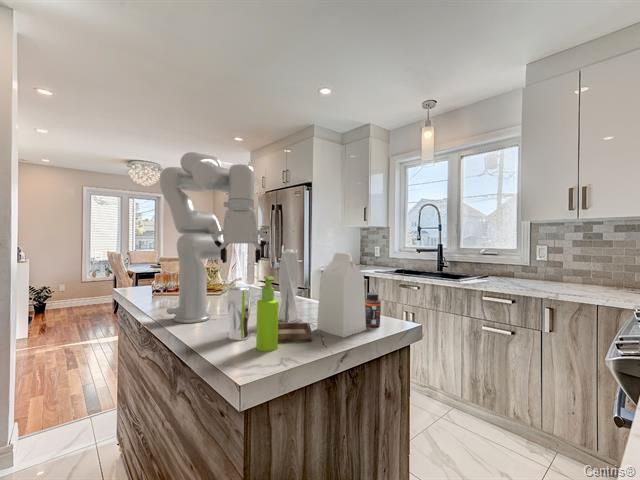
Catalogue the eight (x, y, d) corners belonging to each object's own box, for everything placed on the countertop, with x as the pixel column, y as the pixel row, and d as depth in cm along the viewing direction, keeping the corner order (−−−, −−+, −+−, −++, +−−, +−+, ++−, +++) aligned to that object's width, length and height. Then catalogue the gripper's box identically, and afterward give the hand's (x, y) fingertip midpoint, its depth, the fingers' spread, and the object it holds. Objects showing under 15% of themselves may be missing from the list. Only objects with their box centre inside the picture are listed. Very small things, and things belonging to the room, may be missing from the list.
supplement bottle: (378, 328, 110) (379, 295, 110) (361, 326, 112) (362, 294, 112) (381, 324, 116) (382, 293, 116) (365, 322, 118) (365, 291, 118)
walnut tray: (271, 342, 93) (271, 333, 93) (272, 330, 105) (272, 322, 105) (311, 341, 95) (312, 333, 95) (308, 330, 107) (309, 322, 107)
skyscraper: (271, 320, 117) (273, 245, 117) (287, 317, 124) (289, 244, 123) (287, 325, 112) (288, 245, 112) (303, 321, 118) (304, 245, 118)
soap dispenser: (259, 354, 84) (261, 278, 84) (254, 345, 90) (255, 275, 90) (281, 351, 86) (282, 277, 86) (274, 343, 93) (275, 274, 92)
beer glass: (244, 342, 93) (245, 290, 93) (222, 340, 94) (223, 289, 94) (254, 335, 100) (254, 287, 100) (233, 333, 101) (234, 286, 101)
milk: (365, 330, 108) (367, 253, 107) (343, 337, 99) (344, 254, 99) (339, 323, 116) (340, 252, 116) (316, 329, 108) (318, 252, 108)
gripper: (209, 204, 92) (208, 263, 92) (269, 205, 94) (268, 263, 94) (214, 207, 100) (214, 261, 100) (270, 208, 102) (270, 261, 101)
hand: (240, 262), depth 97 cm, fingers open, 9 cm apart
